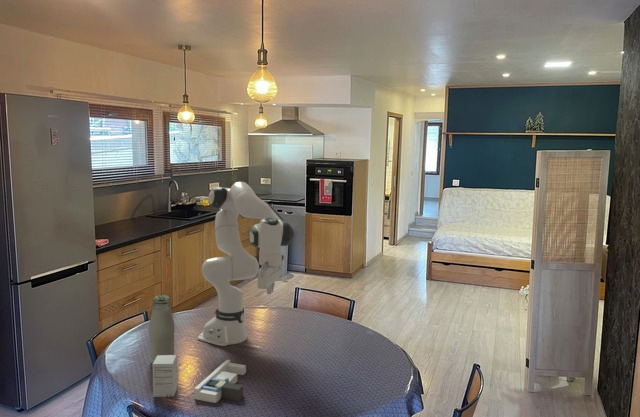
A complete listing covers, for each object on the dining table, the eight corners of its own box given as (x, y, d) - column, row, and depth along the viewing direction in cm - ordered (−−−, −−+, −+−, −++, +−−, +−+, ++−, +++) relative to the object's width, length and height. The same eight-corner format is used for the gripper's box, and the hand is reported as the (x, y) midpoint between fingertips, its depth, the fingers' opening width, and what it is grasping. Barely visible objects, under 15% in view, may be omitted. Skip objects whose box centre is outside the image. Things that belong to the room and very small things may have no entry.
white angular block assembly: (194, 399, 170) (194, 386, 170) (226, 369, 193) (226, 358, 192) (215, 403, 168) (215, 390, 167) (246, 372, 191) (245, 361, 190)
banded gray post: (208, 394, 173) (208, 384, 173) (213, 389, 177) (213, 379, 176) (238, 400, 170) (238, 389, 169) (243, 395, 173) (243, 384, 173)
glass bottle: (152, 368, 193) (150, 301, 189) (148, 358, 202) (146, 293, 198) (177, 363, 197) (175, 297, 193) (172, 353, 206) (171, 290, 202)
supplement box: (157, 387, 178) (156, 354, 176) (178, 386, 179) (177, 354, 177) (152, 397, 171) (151, 364, 169) (174, 396, 172) (173, 363, 170)
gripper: (269, 266, 179) (269, 302, 181) (285, 254, 199) (285, 286, 201) (253, 265, 181) (253, 300, 182) (270, 253, 200) (270, 285, 202)
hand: (270, 293), depth 192 cm, fingers closed
